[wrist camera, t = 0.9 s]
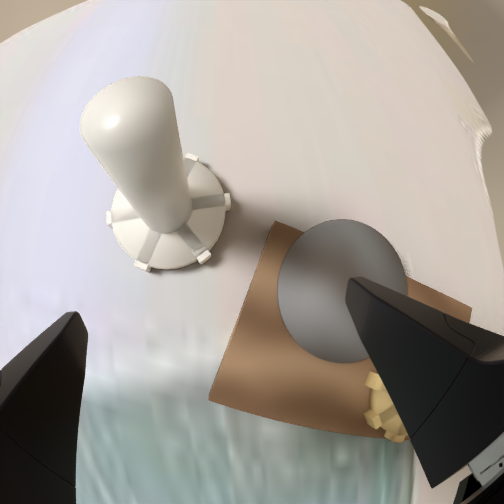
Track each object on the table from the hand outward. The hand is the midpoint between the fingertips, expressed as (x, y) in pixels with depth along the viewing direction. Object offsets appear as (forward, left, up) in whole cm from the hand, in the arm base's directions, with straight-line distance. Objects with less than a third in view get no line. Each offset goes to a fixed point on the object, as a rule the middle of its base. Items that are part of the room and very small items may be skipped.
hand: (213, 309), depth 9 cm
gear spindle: (+6, +6, -13) cm, 15 cm away
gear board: (+2, -13, -13) cm, 18 cm away
